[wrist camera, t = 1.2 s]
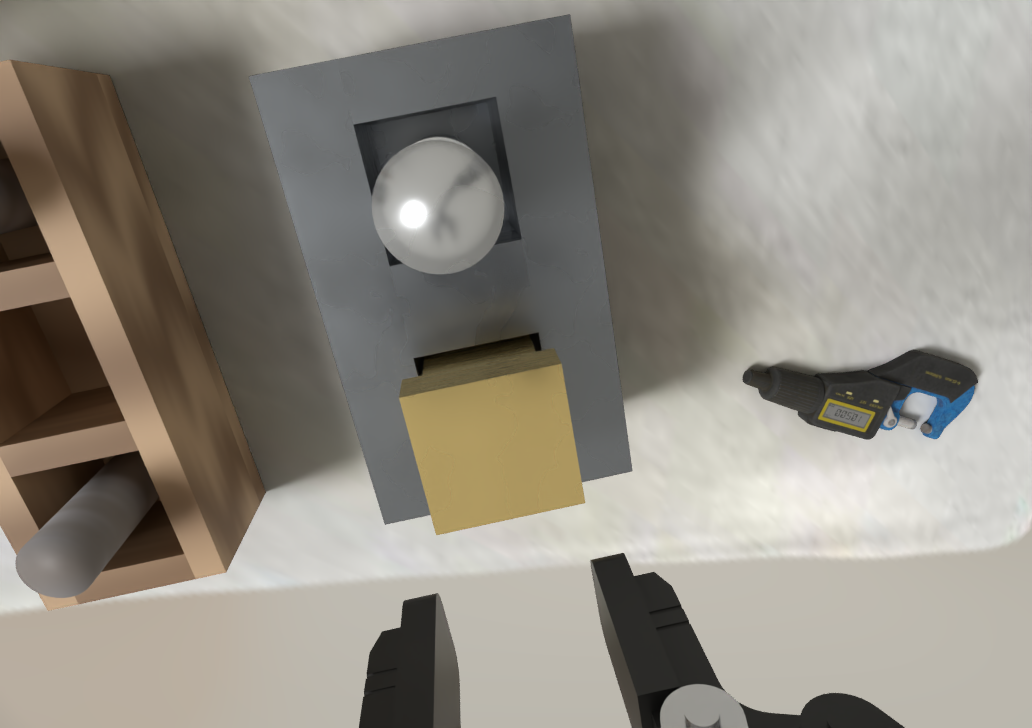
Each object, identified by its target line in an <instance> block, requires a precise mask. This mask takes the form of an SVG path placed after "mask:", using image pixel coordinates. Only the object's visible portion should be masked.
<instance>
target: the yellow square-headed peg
mask: <svg viewBox="0 0 1032 728" xmlns="http://www.w3.org/2000/svg"><path fill="white" fill-rule="evenodd" d="M399 400H400V404H401V407H402V411H403V415H404V418H405V422H406V426H407V429H408V433H409V437H410V440H411V444H412V448H413V451H414V455H415V459H416V462H417V466H418V470H419V473H420V477H421V481H422V484H423V488H424V492H425V496H426V499H427V503H428V507H429V510H430V514H431V518H432V521H433V525H434V529H435V532H436V535H440V534H444V533H449V532H454V531H458V530H463V529H467V528H472V527H477V526H481V525H486V524H490V523H495V522H500V521H504V520H509V519H514V518H518V517H523V516H527V515H532V514H537V513H541V512H546V511H550V510H555V509H560V508H564V507H569V506H574V505H578V504H583V503H585V498H584V493H583V487H582V481H581V475H580V469H579V463H578V457H577V451H576V446H575V440H574V434H573V428H572V422H571V416H570V410H569V404H568V398H567V393H566V387H565V381H564V375H563V369H562V364H561V361H560V359H559V357H558V355H557V353H556V351H555V349H554V348H552V349H547V350H542V351H537V352H536V351H535V348H534V346H533V343H532V341H531V338H530V336H529V334H528V335H523V336H518V337H514V338H509V339H504V340H499V341H494V342H489V343H485V344H480V345H475V346H470V347H465V348H461V349H456V350H451V351H446V352H441V353H437V354H432V355H427V356H424V364H423V375H422V376H418V377H413V378H408V379H403V380H402V383H401V389H400V395H399Z"/></svg>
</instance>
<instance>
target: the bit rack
mask: <svg viewBox="0 0 1032 728" xmlns="http://www.w3.org/2000/svg"><path fill="white" fill-rule="evenodd" d="M265 493H266V492H265V489H264V486H263V484H262V481H261V478H260V476H259V473H258V470H257V468H256V465H255V462H254V460H253V457H252V454H251V452H250V449H249V446H248V444H247V441H246V438H245V436H244V433H243V430H242V428H241V425H240V422H239V420H238V417H237V414H236V412H235V409H234V406H233V404H232V401H231V398H230V396H229V393H228V390H227V388H226V385H225V382H224V379H223V377H222V374H221V371H220V369H219V366H218V363H217V361H216V358H215V355H214V353H213V350H212V347H211V345H210V342H209V339H208V337H207V334H206V331H205V329H204V326H203V323H202V321H201V318H200V315H199V313H198V310H197V307H196V305H195V302H194V299H193V297H192V294H191V291H190V289H189V286H188V283H187V281H186V278H185V275H184V273H183V270H182V267H181V265H180V262H179V259H178V257H177V254H176V251H175V249H174V246H173V243H172V241H171V238H170V235H169V233H168V230H167V227H166V225H165V222H164V219H163V217H162V214H161V211H160V209H159V206H158V203H157V201H156V198H155V195H154V193H153V190H152V187H151V185H150V182H149V179H148V177H147V174H146V171H145V168H144V166H143V163H142V160H141V158H140V155H139V152H138V150H137V147H136V144H135V142H134V139H133V136H132V134H131V131H130V128H129V126H128V123H127V120H126V118H125V115H124V112H123V110H122V107H121V104H120V102H119V99H118V96H117V94H116V91H115V88H114V86H113V83H112V80H111V78H110V75H104V74H98V73H91V72H85V71H79V70H72V69H66V68H59V67H53V66H46V65H40V64H33V63H27V62H21V61H14V60H6V61H1V62H0V526H1V528H2V529H3V531H4V533H5V535H6V537H7V538H8V540H9V542H10V544H11V546H12V547H13V549H14V551H15V553H16V555H17V557H16V569H17V573H18V575H19V577H20V578H21V580H22V581H23V582H24V583H25V584H26V585H27V586H28V587H29V588H31V589H32V590H34V591H36V592H38V594H39V596H40V598H41V599H42V601H43V603H44V605H45V607H46V608H47V610H48V611H50V610H55V609H59V608H64V607H68V606H73V605H78V604H82V603H87V602H92V601H96V600H101V599H105V598H110V597H115V596H119V595H124V594H129V593H133V592H138V591H142V590H147V589H152V588H156V587H161V586H166V585H170V584H175V583H179V582H184V581H189V580H193V579H198V578H203V577H207V576H212V575H216V574H221V573H226V572H227V570H228V567H229V565H230V563H231V561H232V559H233V557H234V555H235V553H236V551H237V549H238V547H239V545H240V543H241V541H242V539H243V537H244V535H245V533H246V531H247V529H248V527H249V525H250V523H251V521H252V519H253V517H254V515H255V513H256V511H257V509H258V507H259V505H260V503H261V501H262V499H263V497H264V495H265Z"/></svg>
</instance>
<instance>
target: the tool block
mask: <svg viewBox="0 0 1032 728" xmlns="http://www.w3.org/2000/svg"><path fill="white" fill-rule="evenodd" d="M249 79H250V82H251V86H252V89H253V92H254V95H255V99H256V102H257V105H258V109H259V112H260V115H261V118H262V122H263V125H264V128H265V132H266V135H267V138H268V142H269V145H270V148H271V151H272V155H273V158H274V161H275V165H276V168H277V171H278V174H279V178H280V181H281V184H282V188H283V191H284V194H285V197H286V201H287V204H288V207H289V211H290V214H291V217H292V220H293V224H294V227H295V230H296V234H297V237H298V240H299V243H300V247H301V250H302V253H303V257H304V260H305V263H306V267H307V270H308V273H309V276H310V280H311V283H312V286H313V290H314V293H315V296H316V299H317V303H318V306H319V309H320V313H321V316H322V319H323V322H324V326H325V329H326V332H327V336H328V339H329V342H330V345H331V349H332V352H333V355H334V359H335V362H336V365H337V368H338V372H339V375H340V378H341V382H342V385H343V388H344V392H345V395H346V398H347V401H348V405H349V408H350V411H351V415H352V418H353V421H354V424H355V428H356V431H357V434H358V438H359V441H360V444H361V447H362V451H363V454H364V457H365V461H366V464H367V467H368V470H369V474H370V477H371V480H372V484H373V487H374V490H375V493H376V497H377V500H378V503H379V507H380V510H381V513H382V517H383V520H384V523H385V525H386V524H390V523H395V522H400V521H404V520H409V519H413V518H418V517H423V516H427V515H431V514H430V510H429V507H428V503H427V499H426V496H425V492H424V488H423V484H422V481H421V477H420V473H419V470H418V466H417V462H416V459H415V455H414V451H413V448H412V444H411V440H410V437H409V433H408V429H407V426H406V422H405V418H404V415H403V411H402V407H401V404H400V400H399V395H400V389H401V383H402V380H403V379H408V378H413V377H418V376H422V375H423V364H424V356H427V355H432V354H437V353H441V352H446V351H451V350H456V349H461V348H465V347H470V346H475V345H480V344H485V343H489V342H494V341H499V340H504V339H509V338H514V337H518V336H523V335H528V334H529V336H530V338H531V341H532V343H533V346H534V348H535V351H536V352H537V351H542V350H547V349H552V348H554V349H555V351H556V353H557V355H558V357H559V359H560V361H561V364H562V369H563V375H564V381H565V387H566V393H567V398H568V404H569V410H570V416H571V422H572V428H573V434H574V440H575V446H576V451H577V457H578V463H579V469H580V475H581V481H582V482H585V481H590V480H594V479H599V478H604V477H608V476H613V475H617V474H622V473H627V472H631V471H632V464H631V457H630V449H629V442H628V435H627V427H626V420H625V413H624V405H623V398H622V391H621V383H620V376H619V369H618V362H617V354H616V347H615V340H614V332H613V325H612V318H611V310H610V303H609V296H608V288H607V281H606V274H605V266H604V259H603V252H602V244H601V237H600V230H599V222H598V215H597V208H596V200H595V193H594V186H593V178H592V171H591V164H590V156H589V149H588V142H587V134H586V127H585V120H584V112H583V105H582V98H581V90H580V83H579V76H578V68H577V61H576V54H575V46H574V39H573V32H572V24H571V17H570V14H569V15H564V16H559V17H553V18H548V19H543V20H538V21H533V22H527V23H522V24H517V25H512V26H507V27H502V28H496V29H491V30H486V31H481V32H476V33H470V34H465V35H460V36H455V37H450V38H444V39H439V40H434V41H429V42H424V43H418V44H413V45H408V46H403V47H398V48H393V49H387V50H382V51H377V52H372V53H367V54H361V55H356V56H351V57H346V58H341V59H335V60H330V61H325V62H320V63H315V64H310V65H304V66H299V67H294V68H289V69H284V70H278V71H273V72H268V73H263V74H258V75H252V76H249ZM432 135H449V136H452V137H455V138H457V139H459V140H461V141H462V142H463V143H465V144H466V145H467V146H468V147H469V148H471V149H472V150H473V151H474V152H475V153H477V154H478V155H479V156H480V157H481V158H482V159H483V160H484V161H485V162H486V163H487V164H488V165H489V166H490V168H491V169H492V171H493V172H494V174H495V176H496V177H497V179H498V182H499V184H500V187H501V190H502V194H503V199H504V219H503V224H502V228H501V231H500V234H499V236H498V239H497V240H496V242H495V244H494V246H493V247H492V248H491V250H490V251H489V252H488V253H487V254H486V255H485V256H484V257H483V258H482V259H481V260H480V261H478V262H477V263H476V264H474V265H472V266H471V267H469V268H467V269H464V270H462V271H459V272H455V273H450V274H429V273H425V272H421V271H418V270H415V269H413V268H411V267H409V266H407V265H405V264H404V263H402V262H401V261H399V260H398V259H397V258H396V257H395V256H394V255H392V254H391V253H390V251H389V250H388V249H387V248H386V247H385V245H384V244H383V242H382V240H381V239H380V237H379V235H378V233H377V230H376V227H375V224H374V220H373V215H372V195H373V190H374V186H375V183H376V181H377V178H378V176H379V174H380V172H381V170H382V169H383V168H384V166H385V165H386V163H387V162H388V161H389V160H390V159H391V158H392V157H393V156H394V155H396V154H397V153H398V152H399V151H401V150H403V149H404V148H406V147H408V146H410V145H412V144H414V143H416V142H418V141H420V140H422V139H424V138H426V137H429V136H432Z"/></svg>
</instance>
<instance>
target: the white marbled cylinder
mask: <svg viewBox="0 0 1032 728" xmlns="http://www.w3.org/2000/svg"><path fill="white" fill-rule="evenodd" d="M372 215H373V220H374V224H375V227H376V230H377V233H378V235H379V237H380V239H381V240H382V242H383V244H384V245H385V247H386V248H387V249H388V250H389V251H390V253H391V254H392V255H394V256H395V257H396V258H397V259H398V260H399V261H401V262H402V263H404V264H405V265H407V266H409V267H411V268H413V269H415V270H418V271H421V272H425V273H429V274H450V273H455V272H459V271H462V270H464V269H467V268H469V267H471V266H472V265H474V264H476V263H477V262H478V261H480V260H481V259H482V258H483V257H484V256H485V255H486V254H487V253H488V252H489V251H490V250H491V248H492V247H493V246H494V244H495V242H496V240H497V239H498V236H499V234H500V231H501V228H502V224H503V219H504V199H503V194H502V190H501V187H500V184H499V182H498V179H497V177H496V176H495V174H494V172H493V171H492V169H491V168H490V166H489V165H488V164H487V163H486V162H485V161H484V160H483V159H482V158H481V157H480V156H479V155H478V154H477V153H475V152H474V151H473V150H472V149H471V148H469V147H468V146H467V145H466V144H465V143H463V142H462V141H461V140H459V139H457V138H455V137H452V136H449V135H432V136H429V137H426V138H424V139H422V140H420V141H418V142H416V143H414V144H412V145H410V146H408V147H406V148H404V149H403V150H401V151H399V152H398V153H397V154H396V155H394V156H393V157H392V158H391V159H390V160H389V161H388V162H387V163H386V165H385V166H384V168H383V169H382V170H381V172H380V174H379V176H378V178H377V181H376V183H375V186H374V190H373V195H372Z"/></svg>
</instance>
